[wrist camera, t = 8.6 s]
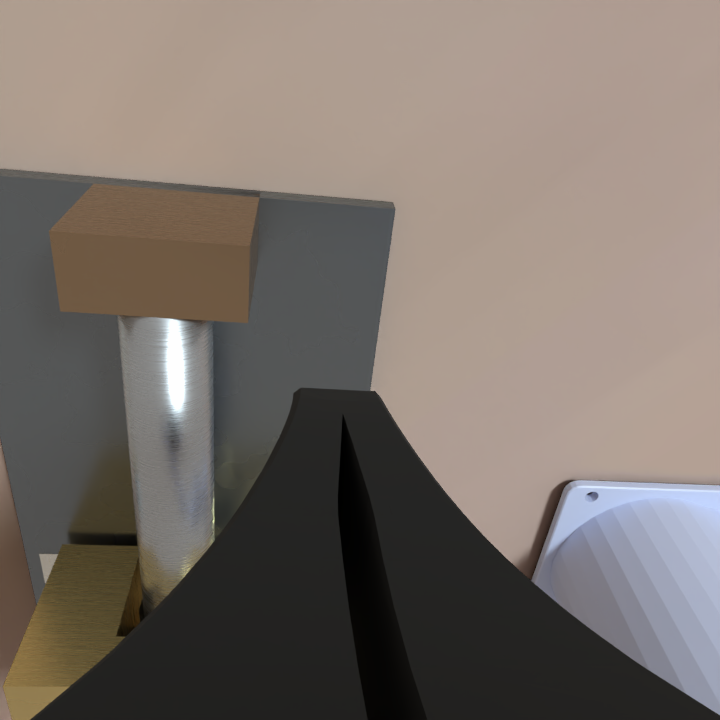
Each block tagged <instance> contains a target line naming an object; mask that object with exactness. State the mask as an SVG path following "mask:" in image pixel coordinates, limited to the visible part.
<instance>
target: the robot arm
mask: <svg viewBox="0 0 720 720" xmlns="http://www.w3.org/2000/svg"><path fill="white" fill-rule="evenodd" d="M590 492H593V493H591V494H589V495H587V494H588V493H590ZM30 720H720V485H693V484H666V483H639V482H612V481H585V480H578V481H573V482H570V483H569V484H568V485H566V486H565V488H564V490H563V492H562V495H561V498H560V501H559V504H558V507H557V509H556V512H555V515H554V518H553V521H552V524H551V526H550V529H549V532H548V535H547V538H546V541H545V543H544V546H543V549H542V552H541V555H540V558H539V560H538V563H537V566H536V569H535V572H534V575H533V577H532V580H530V579H528V578H527V577H526V576H525V575H524V574H523V573H522V572H521V571H519V570H518V569H517V568H516V567H515V566H514V565H513V564H512V563H511V562H510V561H508V560H507V559H506V558H505V557H504V556H503V555H502V554H501V553H500V552H499V551H498V550H497V549H496V548H495V547H494V546H493V545H492V544H491V543H490V542H489V541H488V540H487V539H486V538H485V537H484V536H483V535H482V534H481V533H480V531H479V530H478V529H477V528H476V527H475V526H474V525H473V524H472V523H471V522H470V520H469V519H468V518H467V517H466V516H465V515H464V514H463V513H462V511H461V510H460V509H459V508H458V507H457V505H456V504H455V503H454V502H453V501H452V499H451V498H450V497H449V496H448V495H447V494H446V492H445V491H444V490H443V488H442V487H441V486H440V485H439V483H438V482H437V481H436V480H435V478H434V477H433V476H432V474H431V473H430V471H429V470H428V469H427V467H426V466H425V465H424V463H423V462H422V461H421V459H420V458H419V457H418V455H417V454H416V452H415V451H414V450H413V448H412V447H411V445H410V444H409V442H408V441H407V439H406V438H405V436H404V435H403V433H402V432H401V430H400V429H399V427H398V426H397V424H396V422H395V421H394V419H393V418H392V416H391V414H390V413H389V411H388V409H387V408H386V406H385V404H384V402H383V401H382V399H381V397H380V396H379V395H378V394H377V393H376V392H375V391H359V390H339V389H320V388H300V389H298V390H297V391H295V392H294V393H293V401H292V405H291V408H290V412H289V415H288V418H287V420H286V423H285V425H284V427H283V430H282V432H281V435H280V437H279V439H278V441H277V443H276V445H275V447H274V449H273V451H272V453H271V454H270V456H269V458H268V460H267V462H266V464H265V466H264V468H263V470H262V471H261V473H260V475H259V476H258V478H257V479H256V481H255V483H254V484H253V486H252V487H251V489H250V491H249V492H248V494H247V495H246V497H245V499H244V500H243V502H242V503H241V505H240V506H239V508H238V509H237V511H236V512H235V514H234V515H233V517H232V518H231V519H230V521H229V522H228V523H227V525H226V526H225V528H224V529H223V530H222V532H221V533H220V534H219V535H218V537H217V538H216V539H215V541H214V542H213V543H212V545H211V546H210V547H209V548H208V550H207V551H206V552H205V553H204V554H203V556H202V557H201V558H200V559H199V560H198V561H197V563H196V564H195V565H194V566H193V567H192V568H191V570H190V571H189V572H188V573H187V574H186V575H185V577H184V578H183V579H182V580H181V581H180V582H179V583H178V585H177V586H176V587H175V588H174V589H173V590H172V591H171V592H170V593H169V594H168V595H167V596H166V598H165V599H164V600H163V601H162V602H161V603H160V604H159V605H158V606H157V607H156V608H155V609H154V610H153V611H152V612H151V613H150V614H149V615H148V616H147V617H145V618H144V619H143V620H142V621H141V622H140V623H139V624H138V625H137V626H136V627H135V628H134V629H133V630H132V631H131V632H130V633H129V634H128V635H127V636H126V637H125V638H124V639H123V640H122V641H121V642H120V643H119V644H118V645H117V646H116V647H115V648H114V649H113V650H112V651H110V652H109V653H108V654H107V655H106V656H105V657H104V658H103V659H102V660H100V661H99V662H98V663H97V664H96V665H95V666H94V667H92V668H91V669H90V670H89V671H88V672H86V673H85V674H84V675H83V676H82V677H80V678H79V679H78V680H77V681H76V682H74V683H73V684H72V685H71V686H70V687H69V688H67V689H66V690H65V691H64V692H63V693H61V694H60V695H59V696H58V697H57V698H55V699H54V700H53V701H52V702H51V703H49V704H48V705H47V706H46V707H45V708H44V709H42V710H41V711H40V712H39V713H38V714H36V715H35V716H34V717H33V718H31V719H30Z"/></svg>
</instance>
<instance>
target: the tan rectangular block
mask: <svg viewBox="0 0 720 720" xmlns="http://www.w3.org/2000/svg"><path fill="white" fill-rule="evenodd" d="M141 601H142V588H141V577H140V566H139V555H138V546H114V545H71V544H62V546H61V548H60V551H59V553H58V555H57V558H56V560H55V563H54V565H53V567H52V570H51V572H50V575H49V577H48V579H47V582H46V584H45V587H44V589H43V591H42V594H41V596H40V599H39V601H38V603H37V606H36V608H35V611H34V613H33V615H32V618H31V620H30V623H29V625H28V627H27V630H26V632H25V635H24V637H23V639H22V642H21V644H20V647H19V649H18V651H17V654H16V656H15V659H14V661H13V663H12V666H11V668H10V671H9V673H8V675H7V678H6V680H5V683H4V685H3V689H4V693H5V696H6V700H7V703H8V707H9V710H10V714H11V717H12V720H30V719H31V718H33V717H34V716H35V715H36V714H38V713H39V712H40V711H41V710H42V709H44V708H45V707H46V706H47V705H48V704H49V703H51V702H52V701H53V700H54V699H55V698H57V697H58V696H59V695H60V694H61V693H63V692H64V691H65V690H66V689H67V688H69V687H70V686H71V685H72V684H73V683H74V682H76V681H77V680H78V679H79V678H80V677H82V676H83V675H84V674H85V673H86V672H88V671H89V670H90V669H91V668H92V667H94V666H95V665H96V664H97V663H98V662H99V661H100V660H102V659H103V658H104V657H105V656H106V655H107V654H108V653H109V652H110V651H112V650H113V649H114V648H115V647H116V646H117V645H118V644H119V643H120V642H121V641H122V640H123V639H124V638H125V637H126V636H127V635H128V634H129V633H130V632H131V631H132V630H133V629H134V628H135V627H136V626H137V625H138V624H139V623H140V617H139V608H140V604H141Z"/></svg>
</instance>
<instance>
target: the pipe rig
mask: <svg viewBox="0 0 720 720" xmlns="http://www.w3.org/2000/svg"><path fill="white" fill-rule="evenodd" d="M394 215H395V207H394V204H393V202H384V201H372V200H361V199H349V198H337V197H325V196H314V195H302V194H290V193H278V192H267V191H255V190H243V189H231V188H220V187H208V186H196V185H184V184H173V183H161V182H149V181H137V180H126V179H114V178H102V177H90V176H79V175H67V174H55V173H43V172H32V171H20V170H8V169H0V438H1V443H2V447H3V452H4V457H5V461H6V466H7V470H8V475H9V480H10V484H11V489H12V494H13V498H14V503H15V508H16V512H17V517H18V521H19V526H20V531H21V535H22V540H23V545H24V549H25V554H26V558H27V563H28V568H29V572H30V577H31V582H32V586H33V591H34V595H35V600H36V605H37V603H38V601H39V599H40V596H41V594H42V591H43V589H44V587H45V584H46V582H47V579H48V577H49V575H50V572H51V570H52V567H53V565H54V563H55V560H56V558H57V555H58V553H59V551H60V548H61V546H62V544H71V545H114V546H138V555H139V566H140V577H141V588H142V601H141V604H140V608H139V617H140V622H141V621H142V620H143V619H144V618H145V617H147V616H148V615H149V614H150V613H151V612H152V611H153V610H154V609H155V608H156V607H157V606H158V605H159V604H160V603H161V602H162V601H163V600H164V599H165V598H166V596H167V595H168V594H169V593H170V592H171V591H172V590H173V589H174V588H175V587H176V586H177V585H178V583H179V582H180V581H181V580H182V579H183V578H184V577H185V575H186V574H187V573H188V572H189V571H190V570H191V568H192V567H193V566H194V565H195V564H196V563H197V561H198V560H199V559H200V558H201V557H202V556H203V554H204V553H205V552H206V551H207V550H208V548H209V547H210V546H211V545H212V543H213V542H214V541H215V539H216V538H217V537H218V535H219V534H220V533H221V532H222V530H223V529H224V528H225V526H226V525H227V523H228V522H229V521H230V519H231V518H232V517H233V515H234V514H235V512H236V511H237V509H238V508H239V506H240V505H241V503H242V502H243V500H244V499H245V497H246V495H247V494H248V492H249V491H250V489H251V487H252V486H253V484H254V483H255V481H256V479H257V478H258V476H259V475H260V473H261V471H262V470H263V468H264V466H265V464H266V462H267V460H268V458H269V456H270V454H271V453H272V451H273V449H274V447H275V445H276V443H277V441H278V439H279V437H280V435H281V432H282V430H283V427H284V425H285V423H286V420H287V418H288V415H289V412H290V408H291V405H292V401H293V393H294V392H295V391H297V390H298V389H300V388H320V389H339V390H359V391H370V387H371V380H372V373H373V366H374V358H375V351H376V344H377V337H378V330H379V322H380V315H381V308H382V301H383V294H384V287H385V279H386V272H387V265H388V258H389V251H390V244H391V236H392V229H393V222H394Z"/></svg>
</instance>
